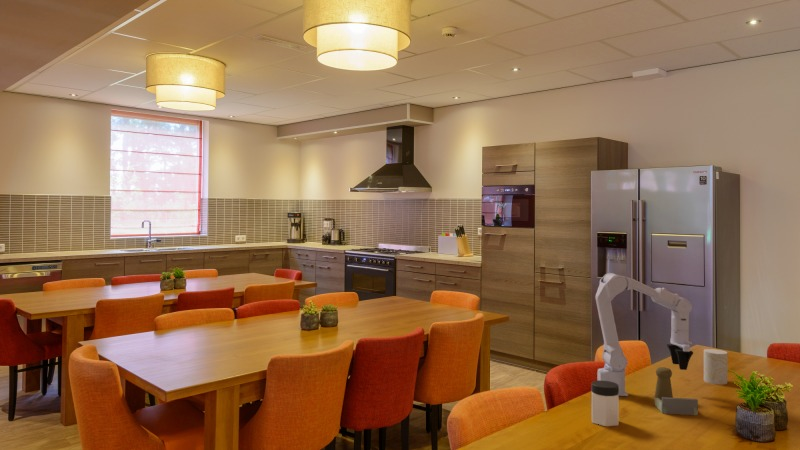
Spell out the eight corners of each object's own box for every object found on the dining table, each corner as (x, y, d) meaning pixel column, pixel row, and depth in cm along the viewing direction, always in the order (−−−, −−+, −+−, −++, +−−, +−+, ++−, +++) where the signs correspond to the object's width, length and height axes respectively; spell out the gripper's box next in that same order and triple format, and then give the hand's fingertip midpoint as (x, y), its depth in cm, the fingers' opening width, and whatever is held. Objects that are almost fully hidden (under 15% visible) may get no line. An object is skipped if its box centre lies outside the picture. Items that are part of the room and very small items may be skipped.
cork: (675, 401, 192) (675, 370, 192) (657, 400, 194) (657, 369, 194) (670, 396, 198) (670, 366, 198) (652, 395, 200) (652, 365, 200)
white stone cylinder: (705, 383, 214) (705, 352, 214) (702, 377, 222) (702, 348, 222) (729, 385, 211) (729, 354, 211) (725, 379, 219) (725, 350, 219)
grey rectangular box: (662, 413, 181) (662, 398, 181) (654, 405, 189) (654, 390, 189) (697, 415, 179) (697, 399, 179) (688, 406, 187) (688, 392, 187)
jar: (599, 427, 168) (599, 388, 168) (585, 418, 176) (585, 381, 176) (625, 425, 170) (625, 386, 170) (609, 416, 178) (609, 379, 178)
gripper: (699, 334, 193) (698, 372, 193) (684, 326, 207) (684, 362, 208) (677, 333, 194) (677, 371, 194) (664, 325, 209) (664, 361, 209)
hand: (679, 366), depth 201 cm, fingers open, 7 cm apart
